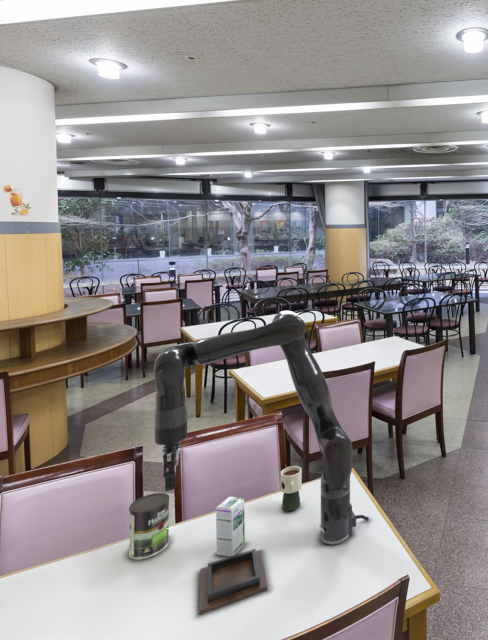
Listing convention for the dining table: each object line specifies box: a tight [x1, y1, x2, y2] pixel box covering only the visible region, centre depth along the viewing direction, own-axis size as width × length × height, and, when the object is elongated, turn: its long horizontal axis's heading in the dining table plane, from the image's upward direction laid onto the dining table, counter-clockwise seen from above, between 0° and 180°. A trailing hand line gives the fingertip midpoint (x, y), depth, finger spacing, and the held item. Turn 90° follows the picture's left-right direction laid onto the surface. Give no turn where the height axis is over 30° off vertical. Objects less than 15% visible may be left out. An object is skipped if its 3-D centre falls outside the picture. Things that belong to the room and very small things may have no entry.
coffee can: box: [128, 492, 170, 561], centre depth 133 cm, size 10×10×14 cm
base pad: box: [199, 548, 268, 615], centre depth 119 cm, size 16×16×3 cm
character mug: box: [280, 465, 303, 512], centre depth 153 cm, size 11×7×13 cm, turn 22°
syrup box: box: [215, 496, 246, 557], centre depth 132 cm, size 6×6×14 cm
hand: (171, 481), depth 117 cm, fingers open, 8 cm apart
